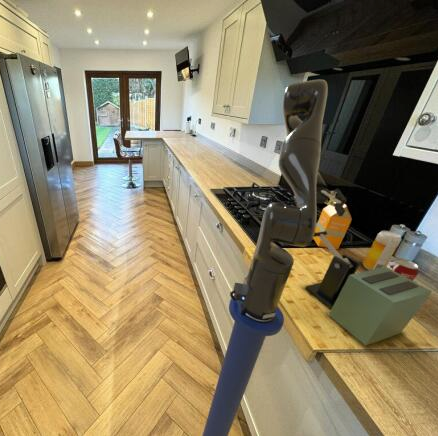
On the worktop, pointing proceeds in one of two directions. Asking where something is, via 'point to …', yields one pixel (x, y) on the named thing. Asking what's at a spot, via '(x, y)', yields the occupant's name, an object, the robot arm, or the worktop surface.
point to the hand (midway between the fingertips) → (327, 215)
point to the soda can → (404, 267)
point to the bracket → (333, 280)
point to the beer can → (381, 250)
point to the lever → (330, 247)
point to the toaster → (377, 304)
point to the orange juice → (332, 226)
